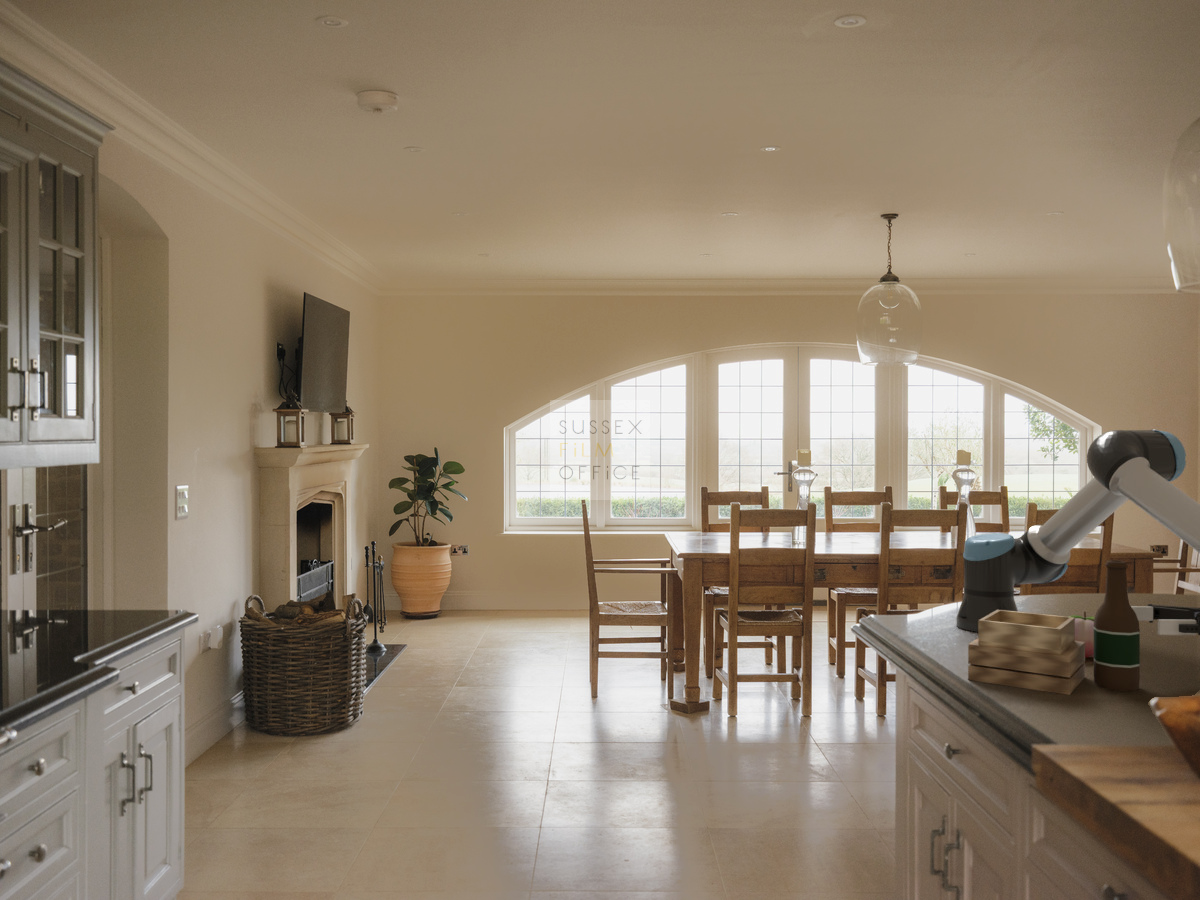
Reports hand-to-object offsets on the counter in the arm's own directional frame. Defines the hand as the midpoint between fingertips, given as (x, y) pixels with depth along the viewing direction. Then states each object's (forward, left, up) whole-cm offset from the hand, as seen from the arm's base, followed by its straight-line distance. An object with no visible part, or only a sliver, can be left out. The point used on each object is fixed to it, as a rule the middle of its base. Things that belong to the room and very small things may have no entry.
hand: (1137, 620), depth 174 cm
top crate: (-18, -6, -6) cm, 20 cm away
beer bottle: (-3, -2, -13) cm, 14 cm away
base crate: (-18, -6, -13) cm, 23 cm away
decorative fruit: (-12, +21, -13) cm, 28 cm away
